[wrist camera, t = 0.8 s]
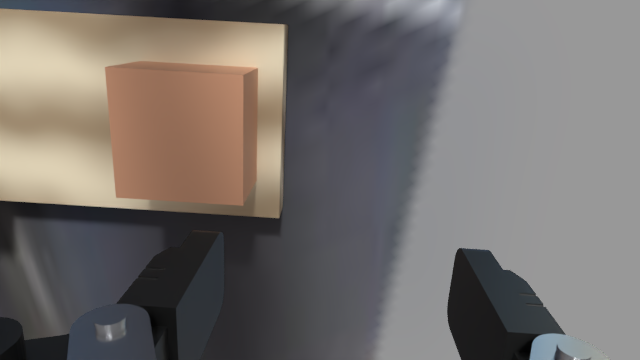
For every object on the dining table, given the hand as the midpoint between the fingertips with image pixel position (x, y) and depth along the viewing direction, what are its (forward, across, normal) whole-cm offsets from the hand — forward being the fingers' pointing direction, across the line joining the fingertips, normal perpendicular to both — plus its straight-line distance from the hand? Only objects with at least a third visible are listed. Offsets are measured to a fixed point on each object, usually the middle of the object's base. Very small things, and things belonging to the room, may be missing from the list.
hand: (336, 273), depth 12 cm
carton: (+18, +8, 0) cm, 19 cm away
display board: (+20, +17, 0) cm, 26 cm away
